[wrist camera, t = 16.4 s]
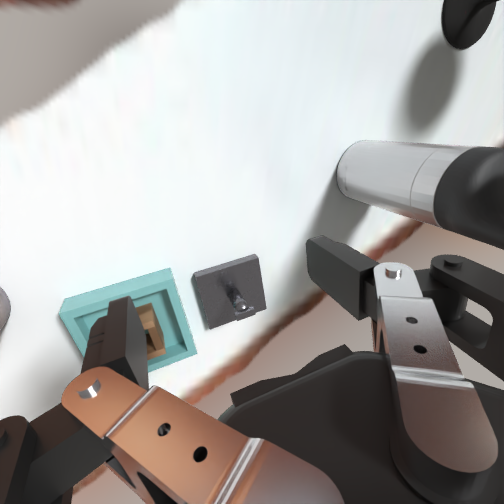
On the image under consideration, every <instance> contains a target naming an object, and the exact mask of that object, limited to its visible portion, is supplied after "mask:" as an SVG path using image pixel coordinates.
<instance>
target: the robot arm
mask: <svg viewBox="0 0 504 504" xmlns="http://www.w3.org/2000/svg"><path fill="white" fill-rule="evenodd" d="M337 183H338V186H339V188H340V190H341V192H342V193H343V194H344V195H345V196H347V197H349V198H352V199H355V200H358V201H361V202H364V203H367V204H370V205H373V206H376V207H379V208H382V209H385V210H388V211H391V212H394V213H397V214H400V215H403V216H406V217H409V218H412V219H415V220H418V221H421V222H425V223H428V224H431V225H434V226H437V227H440V228H443V229H446V230H449V231H452V232H455V233H458V234H461V235H464V236H466V237H469V238H472V239H475V240H478V241H481V242H484V243H487V244H489V245H492V246H495V247H498V248H500V249H503V250H504V149H503V148H496V147H479V146H462V145H442V144H424V143H407V142H389V141H372V140H363V141H359V142H357V143H354V144H353V145H352V146H350V147H349V148H348V149H347V150H346V152H345V153H344V155H343V156H342V158H341V160H340V162H339V165H338V169H337ZM306 253H307V267H308V273H309V276H310V278H311V279H312V280H313V282H315V283H316V284H317V285H318V286H319V287H320V288H321V289H323V290H324V291H325V292H326V293H327V294H328V295H330V296H331V297H332V298H333V299H334V300H335V301H336V302H338V303H339V304H340V305H341V306H342V307H343V308H344V309H346V310H347V311H348V312H349V313H350V314H351V315H353V316H354V317H355V318H356V319H357V320H358V321H359V320H362V319H364V318H366V317H368V316H370V317H371V328H372V338H373V349H374V352H371V351H358V352H352V351H351V350H350V349H349V348H348V347H347V346H346V345H345V344H344V345H342V346H340V347H337V348H335V349H332V350H330V351H328V352H326V353H323V354H321V355H319V356H318V357H316V358H315V359H314V360H312V361H311V362H310V363H308V364H307V365H306V366H305V367H303V368H302V369H301V370H300V371H298V372H297V373H295V374H292V375H288V376H283V377H278V378H272V379H267V380H261V381H259V382H257V383H254V384H252V385H249V386H247V387H245V388H243V389H240V390H238V391H236V392H233V393H231V394H230V395H231V398H232V402H233V405H232V406H231V407H229V408H228V409H227V410H226V411H225V412H224V413H223V414H222V415H221V416H220V417H219V418H218V419H215V418H213V417H212V416H210V415H208V414H206V413H204V412H203V411H201V410H199V409H197V408H196V407H194V406H192V405H190V404H189V403H187V402H185V401H183V400H182V399H180V398H178V397H176V396H175V395H173V394H171V393H169V392H167V391H166V390H164V389H162V388H160V387H158V386H155V385H154V386H152V387H151V388H150V389H149V383H148V363H147V343H146V335H145V331H144V328H143V325H142V322H141V320H140V318H139V315H138V313H137V310H136V308H135V306H134V303H133V301H132V299H131V297H130V296H129V295H128V296H125V297H122V298H119V299H116V300H112V301H110V302H109V306H108V312H107V315H106V316H103V317H100V318H98V319H97V320H96V322H95V323H94V324H93V326H92V327H91V329H90V334H89V339H88V343H87V348H86V352H85V356H84V361H83V365H82V370H81V374H80V375H79V376H77V377H76V378H75V379H74V380H72V381H71V382H70V384H69V385H68V386H67V387H66V389H65V390H64V392H63V394H62V398H61V403H60V404H58V405H57V406H55V407H54V408H52V409H51V410H49V411H47V412H46V413H44V414H43V415H41V416H39V417H38V418H36V419H34V420H33V421H31V422H28V421H27V420H26V419H25V418H24V417H22V416H11V417H7V418H4V419H2V420H0V504H71V500H72V492H73V486H74V485H75V484H76V483H78V482H79V481H80V480H82V479H83V478H84V477H86V476H87V475H88V474H90V473H91V472H92V471H93V470H95V469H96V468H97V467H99V466H100V465H101V464H105V465H106V466H107V467H108V468H109V469H110V470H111V471H112V472H113V473H114V474H115V475H116V476H118V477H119V478H120V479H121V480H122V481H123V482H124V483H125V484H126V485H127V486H128V487H129V488H130V489H132V490H133V491H134V492H135V493H136V494H137V495H138V496H139V497H140V498H141V499H142V500H143V501H144V502H145V503H146V504H504V390H501V389H498V388H495V387H491V386H488V385H485V384H482V383H479V382H475V381H472V380H469V379H466V378H464V376H463V374H462V372H461V369H460V367H459V364H458V362H457V359H456V357H455V355H454V352H453V350H452V347H451V345H450V342H452V343H453V344H454V345H456V346H457V347H458V348H460V349H461V350H462V351H464V352H465V353H467V354H468V355H469V356H470V357H472V358H473V359H474V360H476V361H477V362H478V363H480V364H481V365H483V366H484V367H485V368H487V369H488V370H489V371H491V372H492V373H493V374H495V375H496V376H497V377H499V378H500V379H502V380H503V381H504V274H502V273H499V272H497V271H495V270H492V269H490V268H488V267H485V266H483V265H481V264H479V263H476V262H474V261H472V260H469V259H467V258H465V257H461V256H457V255H439V256H436V257H434V258H432V260H431V265H430V269H424V270H416V271H413V269H412V268H410V267H409V266H407V265H405V264H401V263H395V262H386V263H381V264H380V263H378V262H376V261H374V260H373V259H371V258H369V257H367V256H366V255H364V254H362V253H361V254H360V252H358V251H357V250H354V249H353V248H351V247H349V246H348V245H346V244H342V243H338V242H334V241H332V240H330V239H328V238H327V237H325V236H319V237H315V238H312V239H309V240H307V242H306ZM468 298H469V299H471V300H472V301H474V302H476V303H478V304H480V305H481V306H483V307H485V308H486V309H487V310H488V311H489V312H490V313H491V315H492V317H493V323H492V326H490V325H488V324H487V323H485V322H484V321H482V320H480V319H479V318H477V317H475V316H474V315H472V314H470V313H468V312H467V311H465V310H466V306H467V301H468ZM449 341H450V342H449Z"/></svg>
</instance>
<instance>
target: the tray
mask: <svg viewBox="0 0 504 504" xmlns="http://www.w3.org/2000/svg"><path fill="white" fill-rule="evenodd" d="M128 295H129V296H130V297H131V299H132V301H133V303H134V306H135V308H136V307H139V306H142V305H145V304H148V303H152V306H153V308H154V311H155V313H156V316H157V319H158V321H159V324H160V326H161V329H162V331H163V335H164V342H165V350H166V354H163V355H161V356H158V357H155V358H153V359H150V360H147V363H148V373H149V372H151V371H154V370H156V369H159V368H162V367H164V366H167V365H169V364H172V363H175V362H177V361H180V360H182V359H185V358H188V357H190V356H193V355H195V354H197V351H196V347H195V343H194V340H193V337H192V333H191V330H190V327H189V324H188V321H187V318H186V315H185V312H184V309H183V306H182V303H181V299H180V296H179V293H178V290H177V287H176V284H175V281H174V278H173V275H172V272H171V269H170V268H167V269H163V270H160V271H157V272H153V273H150V274H147V275H143V276H140V277H137V278H133V279H130V280H127V281H123V282H120V283H117V284H113V285H110V286H107V287H103V288H100V289H96V290H93V291H90V292H86V293H83V294H80V295H76V296H73V297H70V298H66V299H65V300H64V302H63V304H62V307H61V309H60V312H59V315H60V317H61V319H62V321H63V322H64V324H65V326H66V328H67V329H68V331H69V333H70V334H71V336H72V338H73V340H74V341H75V343H76V345H77V347H78V348H79V350H80V352H81V354H82V355H83V357H84V356H85V352H86V348H87V343H88V339H89V334H90V329H91V327H92V326H93V324H94V323H95V322H96V320H97V319H98V318H100V317H103V316H106V315H107V312H108V306H109V302H110V301H112V300H116V299H119V298H122V297H125V296H128ZM144 331H145V334H148V333H149V331H148V329H146V330H144Z"/></svg>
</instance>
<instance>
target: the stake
mask: <svg viewBox="0 0 504 504" xmlns="http://www.w3.org/2000/svg"><path fill="white" fill-rule="evenodd" d="M194 276H195V279H196V283H197V286H198V290H199V293H200V297H201V300H202V304H203V308H204V311H205V315H206V318H207V322H208V325H209V328H210V329H213V328H215V327H218V326H221V325H224V324H226V323H229V322H232V321H235V320H237V321H239V320H242V319H245V318H247V317H250V316H253V315H255V313H256V312H259V311H262V310H265V309H266V302H265V296H264V290H263V283H262V277H261V271H260V265H259V258H258V257H257V256H256V255H255V254H253V255H250V256H247V257H243V258H240V259H237V260H234V261H230V262H227V263H224V264H221V265H218V266H214V267H211V268H208V269H205V270H201V271H198V272H195V273H194Z"/></svg>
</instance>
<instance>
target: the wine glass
mask: <svg viewBox="0 0 504 504" xmlns="http://www.w3.org/2000/svg"><path fill="white" fill-rule="evenodd" d="M496 1H499V0H445V1H444V6H443V17H442V20H443V29H444V33H445V36H446V38H447V40H448V42H449V43H450V44H451V45H452V46H453V47H456V48H459V49H462V48H467V47H470V46H472V45H473V44H475V43H476V42H477V41H478V40H479V39H480V38H481V37H482V36H483V34H484V33H485V31H486V30H487V28H488V26H489V24H490V22H491V20H492V17H493V14H494V11H495V7H496Z"/></svg>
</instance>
